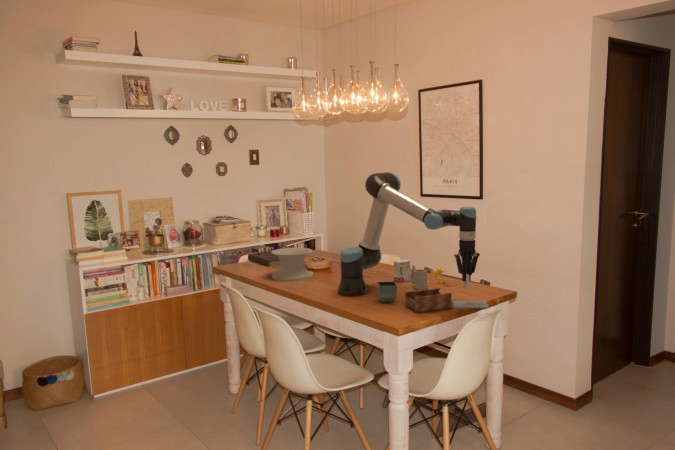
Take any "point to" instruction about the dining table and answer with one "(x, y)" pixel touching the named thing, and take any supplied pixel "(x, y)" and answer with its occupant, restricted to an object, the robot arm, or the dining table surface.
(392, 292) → the flower pot
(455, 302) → the lid
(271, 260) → the book
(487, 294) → the dining table surface
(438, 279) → the figurine
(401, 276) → the ink box
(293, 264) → the grey spool stand
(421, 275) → the mug
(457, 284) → the dining table surface
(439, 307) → the box
